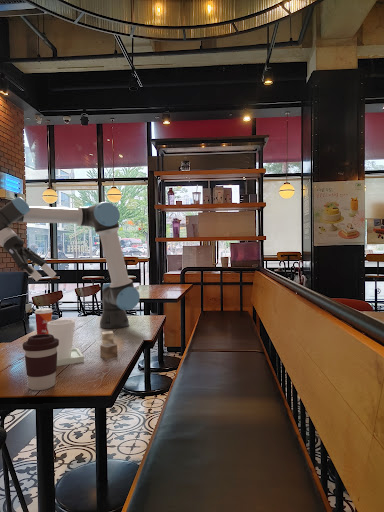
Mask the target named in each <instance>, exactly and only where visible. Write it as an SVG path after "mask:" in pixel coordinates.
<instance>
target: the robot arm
mask: <svg viewBox="0 0 384 512" xmlns="http://www.w3.org/2000/svg"><path fill="white" fill-rule="evenodd" d="M120 216H121V214H120V210H119V209H118V207H117V206H116V205H115V204H114V203H112V202H110V201H102V202H98V203H96V204H92V205H89V206H77V208H73V207H72V208H70V207H56V206H55V207H51V206H32V205H29V204H28V203H27V201H25V199H24V198H22V197H21V196H17V197H15V198H14V199H11V200H10V201H9V202H7V203H6V204H5V205H3V206H2V207H0V246H1V247H3V248H2V249H4V250H5V252H7V254H9V255H10V257H11V258H12V260H13V261H14V262H15V265H16V266H17V268H18V269H20V271H22V272H23V271H25V272H26V273H27V274H28V275H29V276H31V278H32V279H33V280H35V282H38V281H39V280H40V278H42V277H43V276H42V274H41V273H39V271H37V269H36V268H34V267H33V266H32V265H31V264H29V263H28V261H31V262H32V263H33V264H36V265H37V266H39V267H40V269H41V270H43V272H44V273H45V274H47V276H48V277H50V278H51V279H53V278H54V277H55V276H56V275H57V272H55V271H54V269H52V268H51V267H50V266H49V265H48V264H47V263H48V260H46V259H44V258H43V257H41V256H40V255H39V254H38V253H36V252H34V251H33V250H32V249H31V247H27V248H26V247H24V244H25V242H24V240H23V239H22V238H21V237H20V236H19V235H18V234H17V233H16V232H15V231H14V230H13V229H12V228H11V227H10V226H11V225H12V224H13V223H15V222H16V223H42V224H45V223H46V224H49V223H50V224H71V225H72V224H74V225H75V224H76V225H77V226H79V227H90V228H94V231H95V234H97V235H99V238H100V242H101V246H102V250H103V254H104V259H105V261H106V265H107V266H106V267H107V269H108V273H109V276H110V282H108V283H107V282H106V283H104V284H102V290H101V291H102V314H101V318H100V322H99V327H100V328H103V329H120V328H125V327H128V326H130V323H129V322H130V321H129V318H128V315H127V312H126V311H130V310H133V309H134V308H136V306H137V305H138V304H139V302H140V297H141V296H140V292H139V290H138V289H137V288H135V286H134V281H133V279H131V278H130V277H129V274H128V269H127V266H126V263H125V258H124V254H123V250H122V245H121V241H120V238H119V234H118V230H119V229H120V225H119V220H120Z"/></svg>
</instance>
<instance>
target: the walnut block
mask: <svg viewBox="0 0 384 512" xmlns="http://www.w3.org/2000/svg"><path fill="white" fill-rule="evenodd" d="M99 347H100V349H99V350H100V358H102V359H105V360H110V359H113V358H117V357H118V344H115V343H113V344H112V343H109V344H101V345H99Z"/></svg>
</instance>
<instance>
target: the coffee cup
mask: <svg viewBox="0 0 384 512" xmlns="http://www.w3.org/2000/svg"><path fill="white" fill-rule="evenodd" d="M58 345H59V340H58V339H56V338H54V336H53V335H51V334H39V335H37V334H34V335H31V336H29V337H28V338H27V341H24V342H23V343H22V350H23V351H24V353H25V355H24V358H25V359H24V360H25V370H26V371H25V372H26V376H27V383H28V384H27V385H28V388H29V389H30V390H31V391H43V390H48V389H51V388H53V387H55V385H56V372H57V368H58V366H57V346H58Z"/></svg>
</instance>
